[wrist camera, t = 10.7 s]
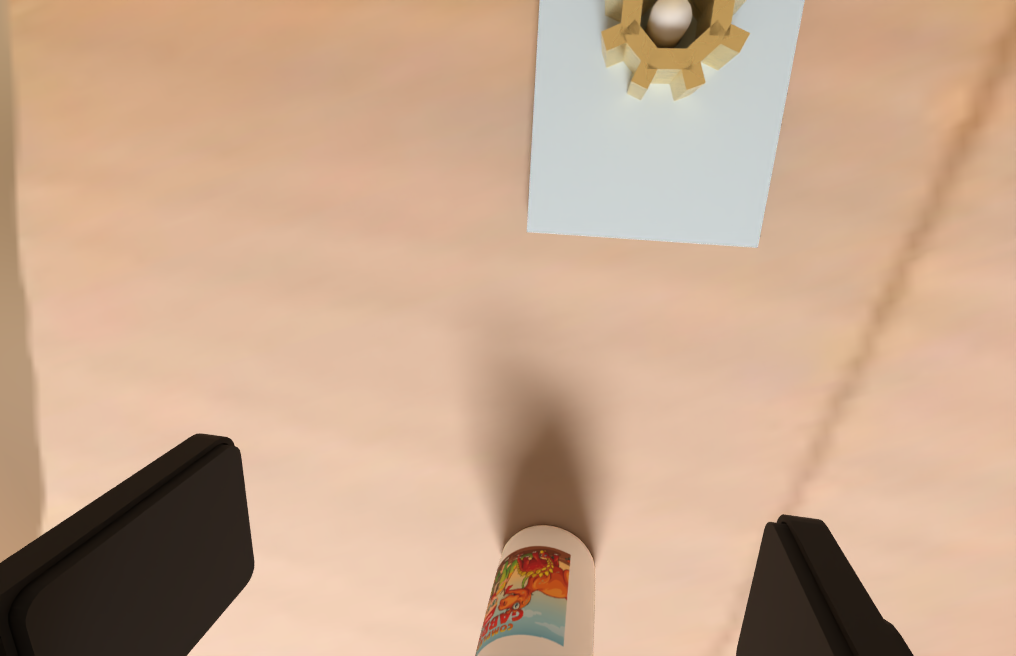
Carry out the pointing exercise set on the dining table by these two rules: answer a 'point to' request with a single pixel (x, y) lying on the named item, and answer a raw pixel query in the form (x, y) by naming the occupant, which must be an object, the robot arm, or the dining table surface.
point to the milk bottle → (541, 597)
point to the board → (656, 129)
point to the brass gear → (671, 66)
